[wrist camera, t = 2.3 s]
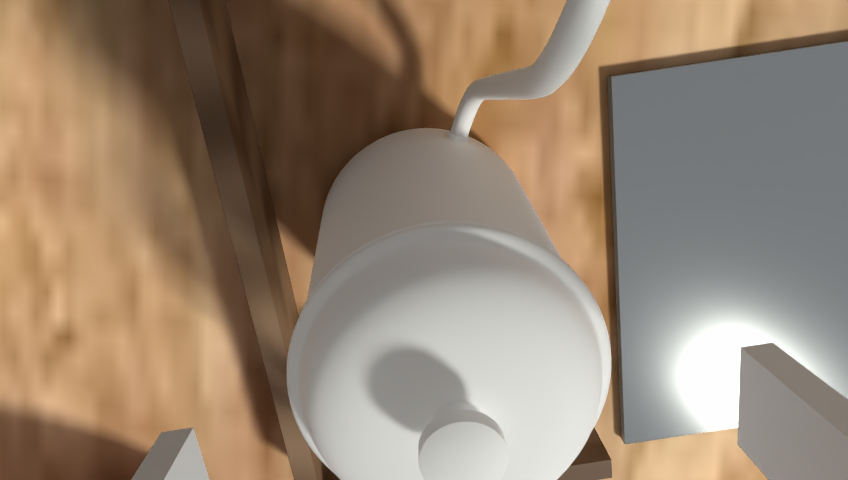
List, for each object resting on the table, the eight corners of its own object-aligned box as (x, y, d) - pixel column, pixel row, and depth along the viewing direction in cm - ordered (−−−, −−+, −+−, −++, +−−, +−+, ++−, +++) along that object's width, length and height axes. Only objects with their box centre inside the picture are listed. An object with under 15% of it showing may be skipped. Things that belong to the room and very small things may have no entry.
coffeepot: (602, 5, 28) (972, -82, 10) (460, 429, 35) (526, 821, 17) (385, -61, 26) (360, -299, 9) (283, 393, 34) (156, 778, 16)
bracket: (181, -70, 26) (144, -91, 22) (555, -126, 26) (583, -157, 22) (315, 472, 35) (305, 523, 32) (588, 432, 35) (611, 477, 32)
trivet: (607, 76, 29) (611, 76, 28) (881, 35, 29) (891, 35, 28) (621, 437, 36) (624, 444, 35) (842, 405, 36) (849, 410, 35)
